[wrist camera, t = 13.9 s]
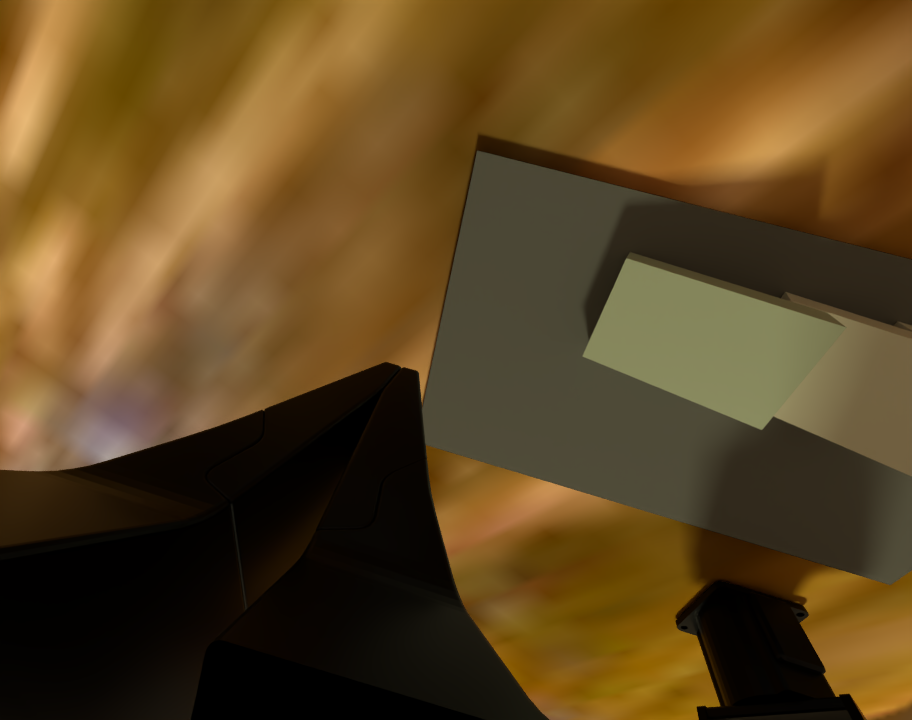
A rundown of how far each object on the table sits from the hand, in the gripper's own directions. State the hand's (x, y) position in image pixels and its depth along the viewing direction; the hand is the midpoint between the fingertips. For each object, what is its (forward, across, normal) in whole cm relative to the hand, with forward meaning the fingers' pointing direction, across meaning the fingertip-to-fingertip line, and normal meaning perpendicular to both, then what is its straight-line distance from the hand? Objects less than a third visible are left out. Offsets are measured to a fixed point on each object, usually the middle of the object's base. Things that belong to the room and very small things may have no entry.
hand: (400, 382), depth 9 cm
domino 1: (+11, -7, 0) cm, 13 cm away
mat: (+12, -15, +4) cm, 20 cm away
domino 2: (+11, -14, 0) cm, 18 cm away
